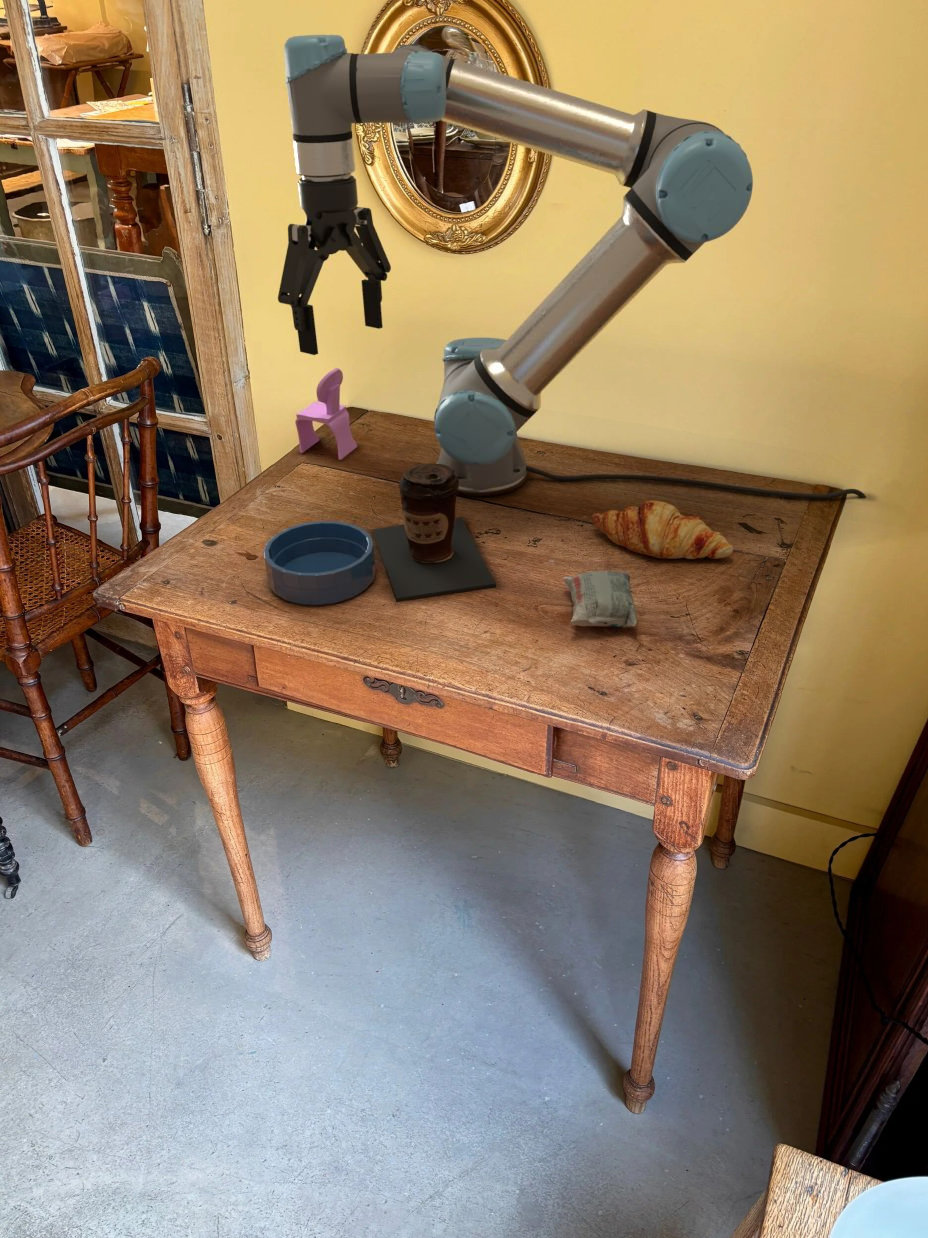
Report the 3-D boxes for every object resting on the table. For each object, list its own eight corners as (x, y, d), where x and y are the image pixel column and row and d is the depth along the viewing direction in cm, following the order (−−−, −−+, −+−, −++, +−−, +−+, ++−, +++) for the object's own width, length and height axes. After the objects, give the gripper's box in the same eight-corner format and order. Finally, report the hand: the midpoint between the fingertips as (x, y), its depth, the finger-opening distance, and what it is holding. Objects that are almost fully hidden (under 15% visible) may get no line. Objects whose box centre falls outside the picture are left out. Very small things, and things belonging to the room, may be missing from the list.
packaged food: (568, 639, 119) (570, 607, 116) (562, 589, 129) (564, 558, 126) (637, 640, 119) (641, 608, 116) (626, 590, 128) (629, 559, 126)
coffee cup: (453, 572, 132) (450, 488, 124) (396, 566, 133) (390, 484, 126) (465, 541, 139) (464, 461, 131) (411, 537, 140) (406, 457, 133)
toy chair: (318, 437, 173) (309, 357, 165) (360, 444, 170) (353, 363, 162) (294, 454, 167) (283, 372, 158) (337, 462, 164) (329, 379, 155)
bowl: (366, 544, 140) (363, 515, 137) (383, 597, 128) (381, 566, 125) (265, 558, 137) (260, 528, 134) (273, 614, 125) (268, 582, 122)
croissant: (731, 571, 138) (744, 518, 137) (723, 573, 129) (738, 516, 127) (594, 541, 145) (605, 490, 144) (577, 541, 136) (589, 486, 135)
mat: (461, 520, 146) (461, 516, 145) (496, 586, 130) (496, 583, 129) (372, 532, 143) (372, 528, 143) (396, 601, 127) (396, 598, 127)
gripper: (368, 159, 131) (379, 312, 143) (234, 189, 114) (259, 359, 126) (409, 163, 127) (417, 320, 139) (277, 194, 111) (299, 369, 123)
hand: (342, 339), depth 133 cm, fingers open, 13 cm apart
